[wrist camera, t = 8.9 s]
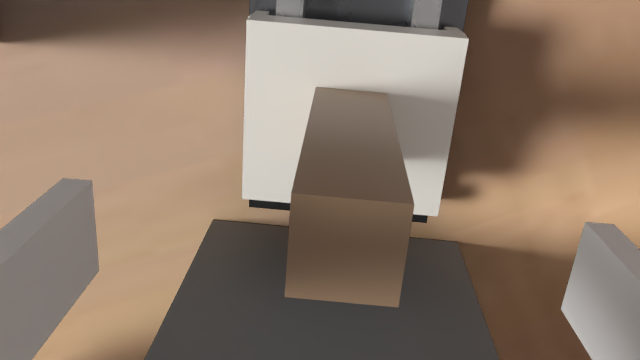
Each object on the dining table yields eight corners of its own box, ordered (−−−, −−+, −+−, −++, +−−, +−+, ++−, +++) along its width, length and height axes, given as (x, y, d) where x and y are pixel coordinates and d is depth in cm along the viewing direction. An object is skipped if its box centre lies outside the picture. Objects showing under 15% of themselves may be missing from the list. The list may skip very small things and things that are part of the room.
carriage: (430, 187, 29) (497, 392, 16) (251, 171, 29) (170, 361, 16) (457, 27, 26) (568, 116, 13) (256, 10, 26) (160, 81, 13)
